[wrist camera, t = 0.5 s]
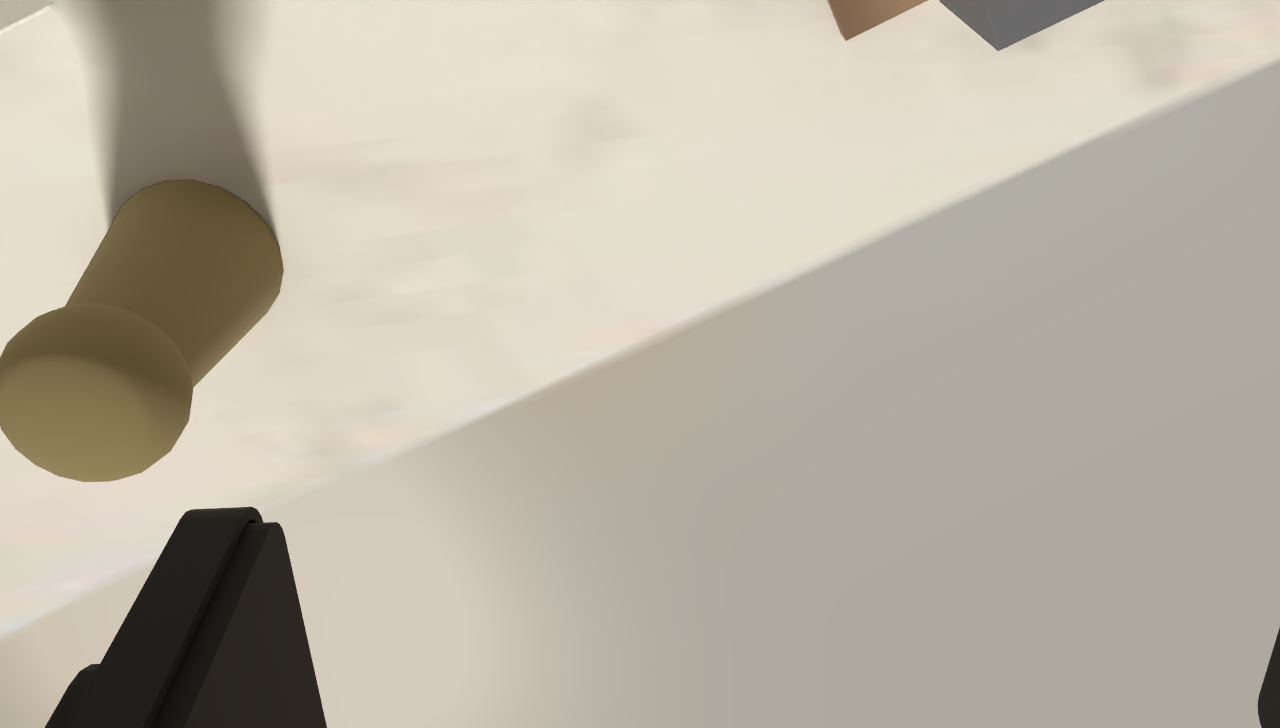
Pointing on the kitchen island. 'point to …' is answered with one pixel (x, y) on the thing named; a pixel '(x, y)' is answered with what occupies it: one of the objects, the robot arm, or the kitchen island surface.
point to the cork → (138, 332)
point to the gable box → (20, 12)
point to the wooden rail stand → (866, 13)
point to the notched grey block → (1013, 17)
